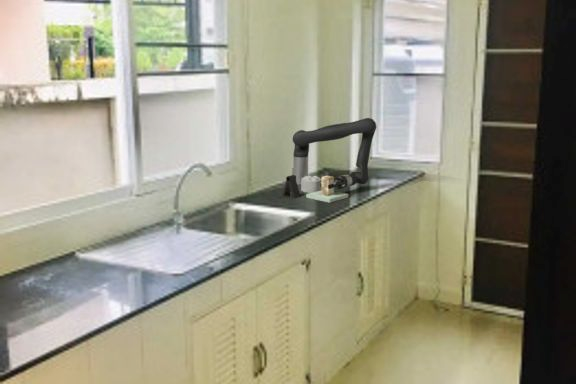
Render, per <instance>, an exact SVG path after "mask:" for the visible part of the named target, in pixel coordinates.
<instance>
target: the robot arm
mask: <svg viewBox="0 0 576 384" xmlns="http://www.w3.org/2000/svg"><path fill="white" fill-rule="evenodd" d="M376 131H377V123H376V121H375V120H374V119H373V118H371V117H366V118H361V119H359V120H356V121H351V122H342V123H336V124H329V125H325V126H323V127H319V128H317V129H314V130H307V131H306V130H303V129H300V130H298V131H296V132H295V133H294V134H293V136H292V143H293V144H294V149H293V154H292V155H293V163H292V164H293V167H292V168H291V175H295V176H296V182H297V185H298V186H299V185H300V186H301V179H302V178H303V177H305V176H309V152H310V144H313V143H318V142H319V143H320V142H330V141H335V140H340V139H344V138H346V137H349V136H351V135H356V134H357V135H358V134H361V141H360V142H361V143H360V145H359V149H358V152H357V155H356V161H355V162H356V163H355V167H356V168H358V169H360V171H351V172H350V173H349V174H343V175H338V176H334V183H333V184H330V185H328V189H331V188H334V189H337V190H342V189H346V188H349V187H352V186H355V185H356V184H361V185H366V184H367V182H368V181H369V167H368V165H369V161H370V153H371V147H372V143H373V139H374V135H375V132H376ZM321 185H322V184H320V187H321Z"/></svg>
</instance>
